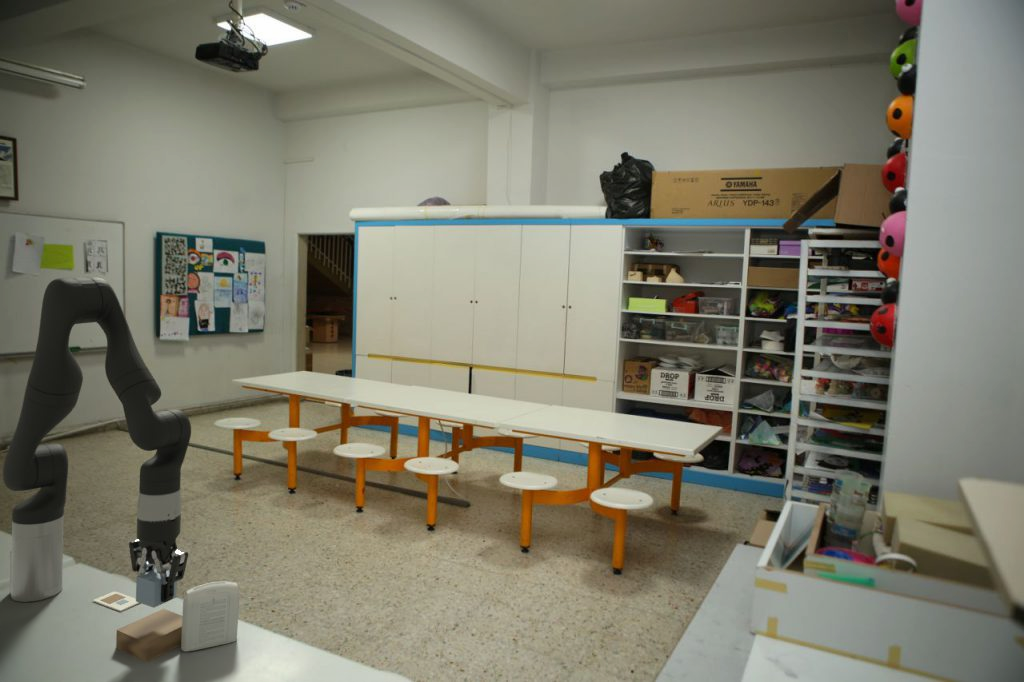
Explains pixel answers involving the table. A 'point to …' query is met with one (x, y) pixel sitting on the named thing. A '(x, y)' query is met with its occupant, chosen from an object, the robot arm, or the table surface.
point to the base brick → (151, 635)
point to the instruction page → (116, 601)
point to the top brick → (151, 588)
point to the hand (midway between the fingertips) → (156, 596)
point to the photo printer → (210, 615)
